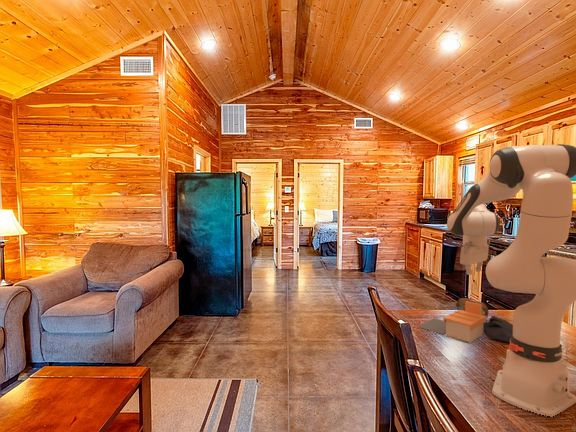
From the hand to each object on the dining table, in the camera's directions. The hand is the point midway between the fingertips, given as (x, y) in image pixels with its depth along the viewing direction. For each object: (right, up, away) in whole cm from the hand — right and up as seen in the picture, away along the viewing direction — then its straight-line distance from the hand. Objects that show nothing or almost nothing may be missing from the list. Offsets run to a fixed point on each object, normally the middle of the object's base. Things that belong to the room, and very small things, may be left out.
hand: (473, 272), depth 136 cm
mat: (-13, -25, +5) cm, 29 cm away
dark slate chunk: (+10, -26, -3) cm, 28 cm away
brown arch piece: (+9, -25, +17) cm, 32 cm away
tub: (-7, -25, -5) cm, 26 cm away
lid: (-7, -20, -5) cm, 21 cm away
